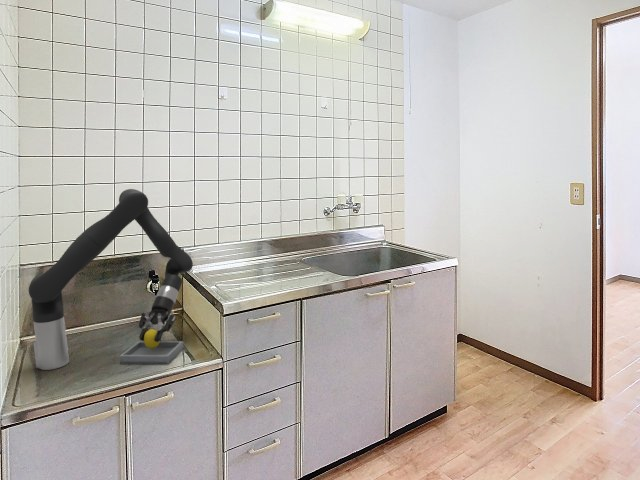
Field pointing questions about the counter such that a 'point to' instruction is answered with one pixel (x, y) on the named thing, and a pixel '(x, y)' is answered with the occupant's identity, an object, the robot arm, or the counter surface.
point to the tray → (152, 353)
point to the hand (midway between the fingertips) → (148, 340)
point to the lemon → (150, 339)
